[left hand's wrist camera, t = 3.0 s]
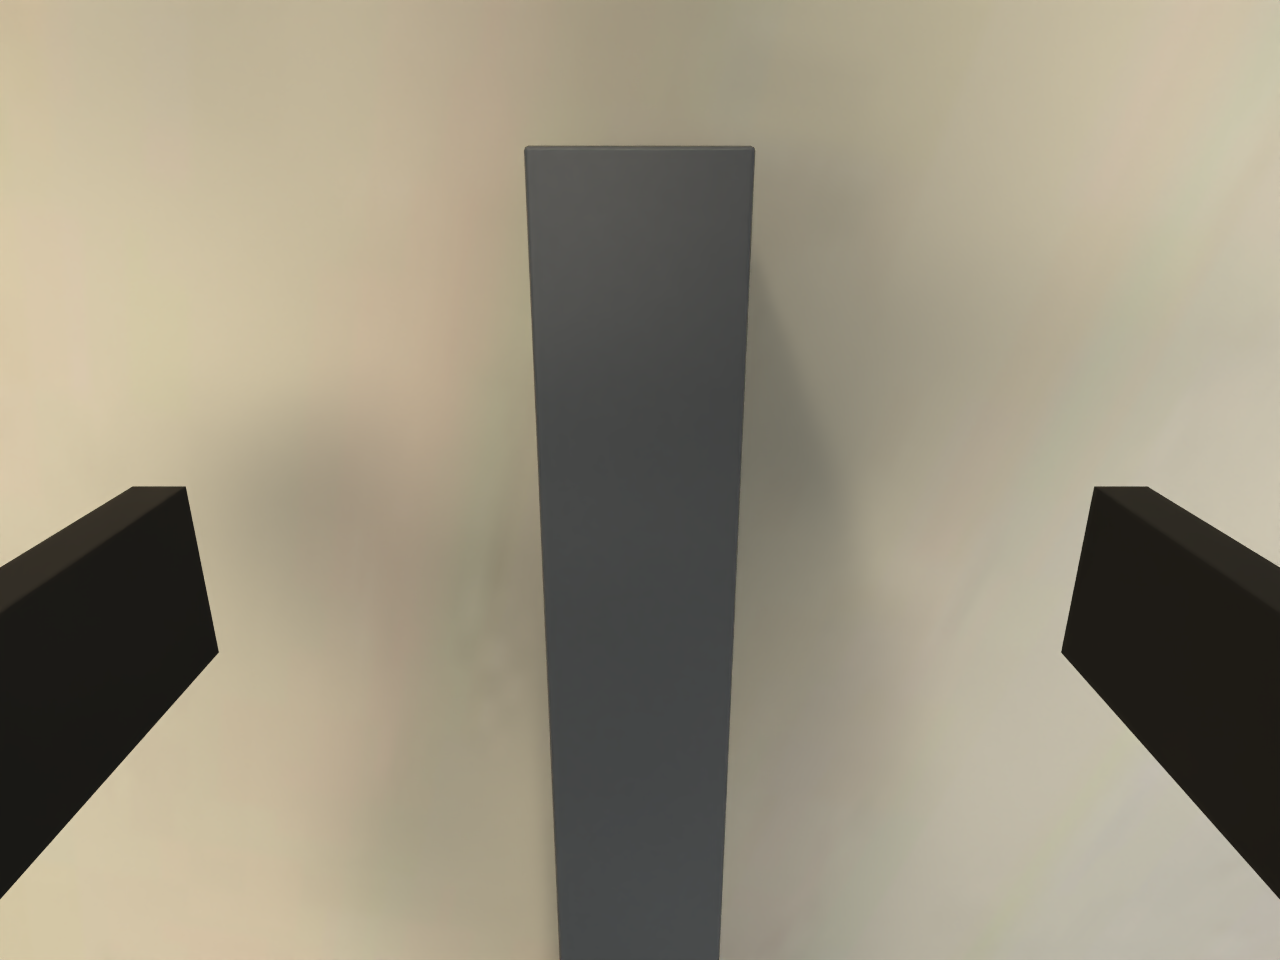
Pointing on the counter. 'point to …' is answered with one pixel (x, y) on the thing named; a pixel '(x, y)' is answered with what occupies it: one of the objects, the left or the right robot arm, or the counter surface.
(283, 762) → the counter surface
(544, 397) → the bar
